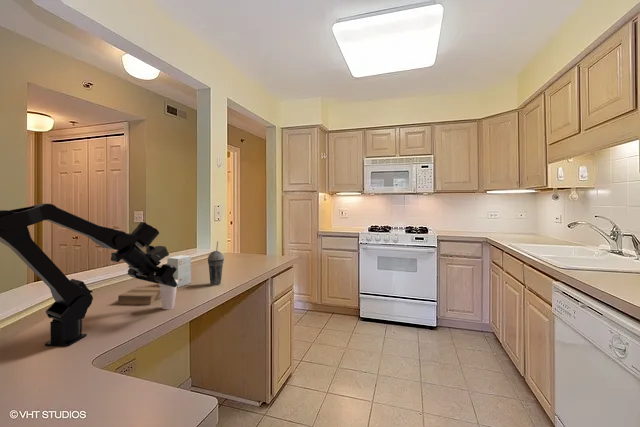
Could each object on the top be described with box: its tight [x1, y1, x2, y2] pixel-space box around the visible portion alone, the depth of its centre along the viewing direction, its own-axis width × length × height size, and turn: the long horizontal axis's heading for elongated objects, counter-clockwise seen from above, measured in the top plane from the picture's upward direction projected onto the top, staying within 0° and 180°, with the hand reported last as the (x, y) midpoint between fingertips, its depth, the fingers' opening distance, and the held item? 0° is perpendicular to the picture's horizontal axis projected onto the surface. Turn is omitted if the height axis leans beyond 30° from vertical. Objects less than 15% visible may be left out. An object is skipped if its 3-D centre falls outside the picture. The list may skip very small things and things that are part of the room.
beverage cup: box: [207, 241, 225, 286], centre depth 140 cm, size 7×7×20 cm
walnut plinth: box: [117, 286, 161, 305], centre depth 118 cm, size 12×12×3 cm
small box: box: [166, 254, 192, 289], centre depth 138 cm, size 8×6×13 cm
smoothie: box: [157, 279, 178, 310], centre depth 108 cm, size 6×6×14 cm
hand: (167, 284), depth 108 cm, fingers open, 9 cm apart
